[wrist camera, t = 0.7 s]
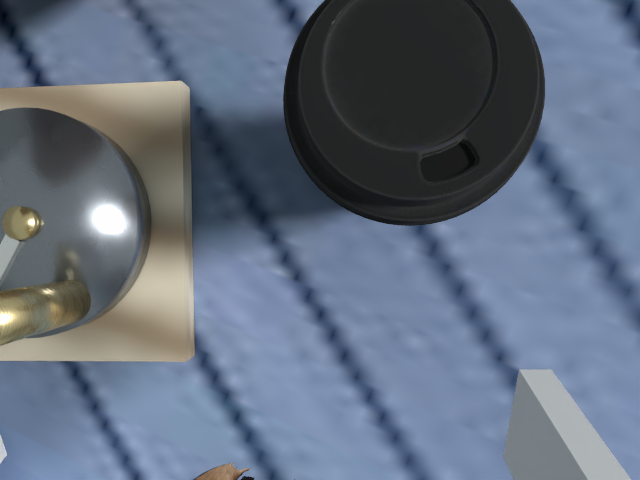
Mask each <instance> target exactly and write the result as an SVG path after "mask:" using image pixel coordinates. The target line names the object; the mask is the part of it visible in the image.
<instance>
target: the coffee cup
mask: <svg viewBox="0 0 640 480" xmlns="http://www.w3.org/2000/svg"><path fill="white" fill-rule="evenodd" d="M283 100H284V117H285V123H286V128H287V133H288V136H289V139H290V142H291V145H292V148H293V150H294V152H295V154H296V156H297V158H298V160H299V162H300V164H301V166H302V167H303V169H304V170H305V172H306V173H307V175H308V176H309V177H310V179H311V180H312V181H313V182H314V183H315V184H316V185H317V187H318V188H319V189H320V190H321V191H323V192H324V193H325V194H326V195H327V196H328V197H329V198H331V199H332V200H333V201H335V202H336V203H337V204H339V205H341V206H342V207H344V208H345V209H347V210H349V211H351V212H353V213H355V214H357V215H360V216H362V217H364V218H367V219H370V220H374V221H377V222H382V223H386V224H393V225H409V226H412V225H425V224H432V223H437V222H441V221H445V220H448V219H451V218H454V217H457V216H459V215H461V214H464V213H466V212H468V211H470V210H472V209H474V208H475V207H477V206H479V205H480V204H482V203H483V202H485V201H486V200H488V199H489V198H490V197H491V196H493V195H494V194H495V193H496V192H497V191H498V190H499V189H500V188H502V187H503V186H504V185H505V184H506V182H507V181H508V180H509V179H510V178H511V177H512V176H513V174H514V173H515V171H516V170H517V169H518V168H519V166H520V165H521V163H522V162H523V161H524V159H525V157H526V156H527V154H528V152H529V150H530V148H531V146H532V144H533V142H534V140H535V138H536V135H537V132H538V129H539V126H540V122H541V119H542V114H543V108H544V100H545V77H544V69H543V64H542V59H541V55H540V52H539V48H538V46H537V43H536V41H535V38H534V36H533V34H532V32H531V30H530V28H529V26H528V24H527V23H526V21H525V20H524V18H523V16H522V15H521V14H520V12H519V11H518V9H517V8H516V7H515V6H514V4H513V3H512V2H511V1H510V0H325V1H324V2H323V3H322V4H321V5H320V6H319V7H318V8H317V9H316V10H315V12H314V13H313V14H312V15H311V17H310V18H309V19H308V21H307V22H306V24H305V25H304V27H303V29H302V31H301V32H300V34H299V36H298V38H297V40H296V42H295V45H294V47H293V50H292V52H291V55H290V58H289V62H288V66H287V71H286V77H285V85H284V96H283Z"/></svg>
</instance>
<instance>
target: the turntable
mask: <svg viewBox="0 0 640 480" xmlns="http://www.w3.org/2000/svg"><path fill="white" fill-rule="evenodd" d="M151 225H152V220H151V208H150V203H149V198H148V194H147V191H146V188H145V185H144V182H143V180H142V178H141V176H140V174H139V172H138V170H137V168H136V166H135V165H134V163H133V162H132V160H131V159H130V157H129V156H128V155H127V154H126V152H125V151H124V150H123V149H122V148H121V147H120V146H119V145H118V144H117V143H116V142H115V141H114V140H112V139H111V138H110V137H109V136H108V135H106V134H104V133H103V132H101V131H100V130H98V129H97V128H95V127H93V126H90V125H88V124H86V123H84V122H82V121H79V120H77V119H74V118H72V117H70V116H67V115H65V114H62V113H58V112H55V111H52V110H47V109H41V108H27V107H22V108H12V109H6V110H2V111H0V346H1V345H5V344H8V343H11V342H14V341H17V340H21V339H24V338H41V337H47V336H51V335H56V334H59V333H62V332H65V331H68V330H71V329H74V328H77V327H80V326H83V325H85V324H88V323H90V322H92V321H94V320H96V319H98V318H100V317H102V316H103V315H104V314H106V313H107V312H109V311H110V310H111V309H113V308H114V307H115V306H116V305H117V304H118V303H119V302H120V301H121V300H122V299H123V298H124V297H125V296H126V294H127V293H128V292H129V291H130V290H131V288H132V287H133V285H134V283H135V282H136V280H137V279H138V277H139V275H140V273H141V270H142V268H143V266H144V264H145V260H146V257H147V254H148V251H149V245H150V239H151Z"/></svg>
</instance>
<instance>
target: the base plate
mask: <svg viewBox="0 0 640 480" xmlns="http://www.w3.org/2000/svg"><path fill="white" fill-rule="evenodd" d="M22 107H27V108H41V109H47V110H52V111H55V112H58V113H62V114H65V115H67V116H70V117H72V118H74V119H77V120H79V121H82V122H84V123H86V124H88V125H90V126H93V127H95V128H97V129H98V130H100V131H101V132H103V133H104V134H106V135H108V136H109V137H110V138H111V139H112V140H114V141H115V142H116V143H117V144H118V145H119V146H120V147H121V148H122V149H123V150H124V151H125V152H126V154H127V155H128V156H129V157H130V159H131V160H132V162H133V163H134V165H135V166H136V168H137V170H138V172H139V174H140V176H141V178H142V180H143V182H144V185H145V188H146V191H147V194H148V198H149V203H150V208H151V220H152V225H151V239H150V245H149V251H148V254H147V257H146V260H145V264H144V266H143V268H142V270H141V273H140V275H139V277H138V279H137V280H136V282H135V283H134V285H133V287H132V288H131V290H130V291H129V292H128V293H127V294H126V296H125V297H124V298H123V299H122V300H121V301H120V302H119V303H118V304H117V305H116V306H115V307H114V308H113V309H111V310H110V311H109V312H107V313H106V314H104V315H103V316H102V317H100V318H98V319H96V320H94V321H92V322H90V323H88V324H85V325H83V326H80V327H77V328H74V329H71V330H68V331H65V332H62V333H59V334H56V335H51V336H47V337H41V338H24V339H21V340H17V341H14V342H11V343H8V344H5V345H1V346H0V361H168V362H187V361H188V360H189V359H191V358H192V357H193V356H195V349H194V295H193V241H192V187H191V133H190V88H189V87H188V86H187V85H185V84H184V83H183V82H182V81H165V82H141V83H117V84H93V85H70V86H46V87H22V88H0V111H2V110H6V109H12V108H22Z"/></svg>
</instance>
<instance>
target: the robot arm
mask: <svg viewBox="0 0 640 480" xmlns="http://www.w3.org/2000/svg"><path fill="white" fill-rule="evenodd" d="M6 456H7V453H6V450H5V447H4V444H3V441H2V438H1V435H0V463H1V462H2V461H3V459H4V458H5V457H6ZM503 457H504V459H505V462H506V464H507V466H508V468H509V471H510V473H511V475H512V477H513V480H631V479H630V477H629V476H628V475H627V473H626V472H625V471H624V469H623V468H622V466H621V465H620V464H619V462H618V461H617V460H616V458H615V457H614V455H613V454H612V453H611V451H610V450H609V449H608V447H607V446H606V444H605V443H604V442H603V440H602V439H601V438H600V436H599V435H598V433H597V432H596V431H595V429H594V428H593V427H592V425H591V424H590V422H589V421H588V420H587V418H586V417H585V416H584V414H583V413H582V411H581V410H580V409H579V407H578V406H577V404H576V403H575V402H574V400H573V399H572V398H571V396H570V395H569V393H568V392H567V391H566V389H565V388H564V387H563V385H562V384H561V382H560V381H559V380H558V378H557V377H556V376H555V374H554V373H553V371H552V370H519V373H518V379H517V384H516V390H515V395H514V401H513V406H512V411H511V417H510V422H509V428H508V433H507V438H506V444H505V449H504V455H503Z"/></svg>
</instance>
